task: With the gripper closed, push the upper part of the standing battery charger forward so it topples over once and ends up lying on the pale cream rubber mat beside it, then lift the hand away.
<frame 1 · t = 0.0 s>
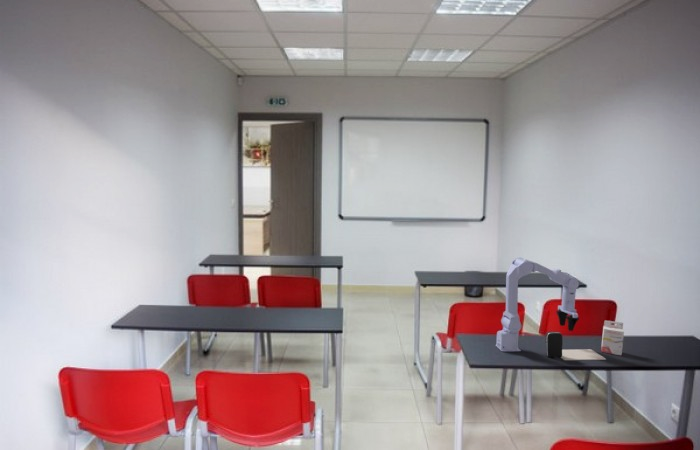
hand: (566, 328, 234), 10 cm above the table, tool pointing down, fingers open, 7 cm apart
battery charger: (553, 356, 224), on the table, touching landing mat
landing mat: (578, 355, 227), on the table
ink cartridge box: (611, 352, 231), on the table
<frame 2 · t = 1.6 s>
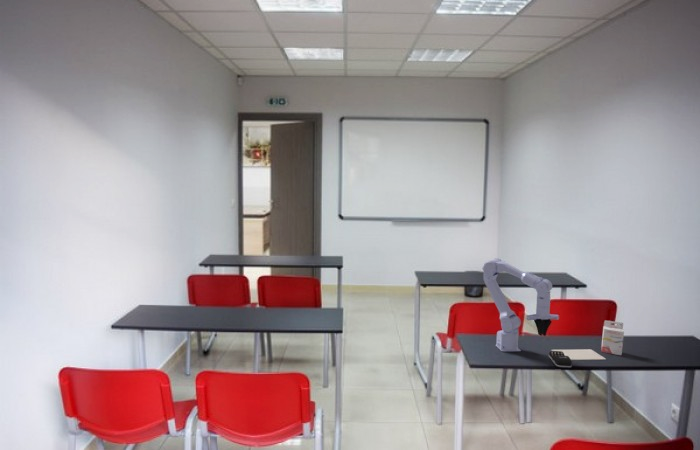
hand: (541, 334, 222), 10 cm above the table, tool pointing down, fingers closed
battery charger: (555, 353, 222), point 2 cm above the table, touching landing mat
everything else where it was.
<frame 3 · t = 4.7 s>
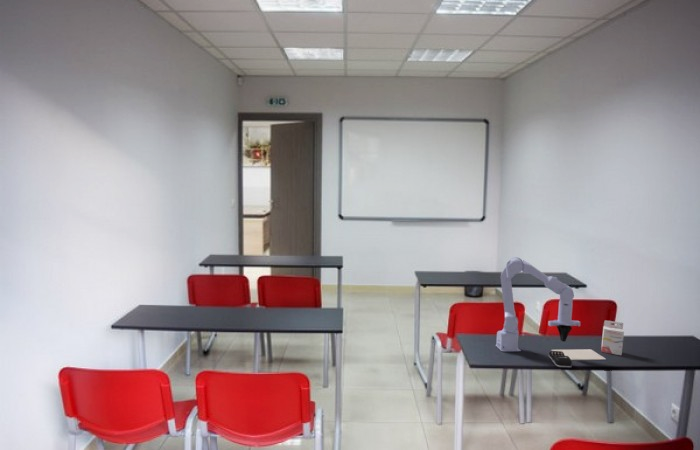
hand: (563, 340, 224), 7 cm above the table, tool pointing down, fingers closed
nothing on the table moved.
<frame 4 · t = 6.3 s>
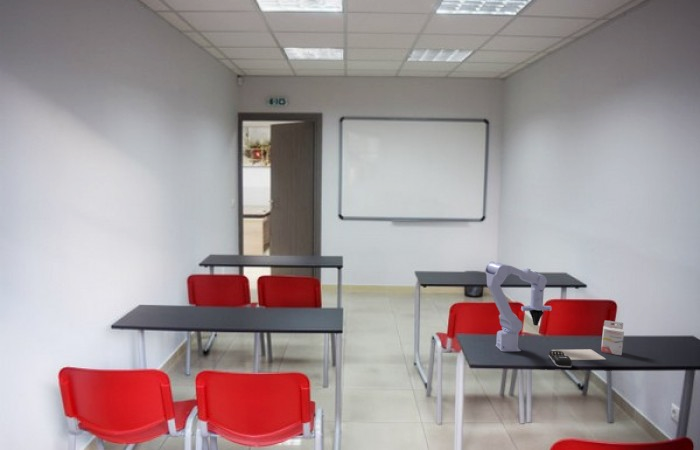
hand: (535, 324, 237), 10 cm above the table, tool pointing down, fingers closed
nothing on the table moved.
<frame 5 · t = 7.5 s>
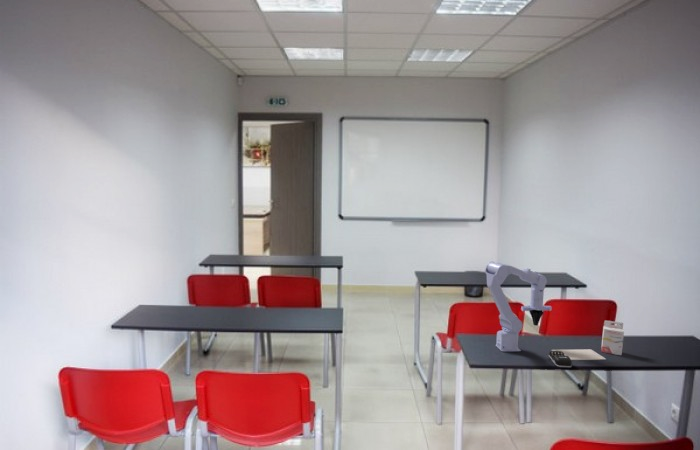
hand: (535, 324, 237), 10 cm above the table, tool pointing down, fingers closed
nothing on the table moved.
at the end: battery charger tilted 93°; battery charger touching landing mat, table; battery charger inside the target area (4.8 cm from its centre), point 2.3 cm above the table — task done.
